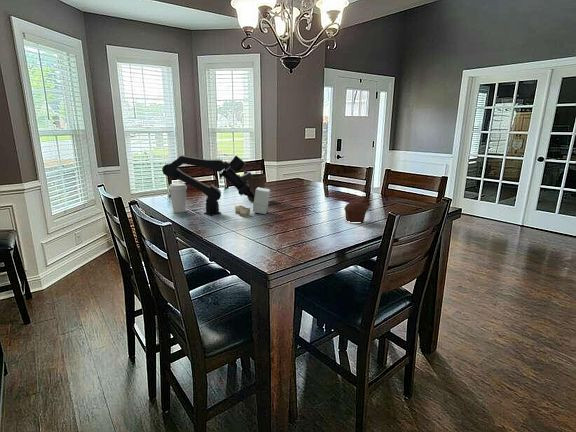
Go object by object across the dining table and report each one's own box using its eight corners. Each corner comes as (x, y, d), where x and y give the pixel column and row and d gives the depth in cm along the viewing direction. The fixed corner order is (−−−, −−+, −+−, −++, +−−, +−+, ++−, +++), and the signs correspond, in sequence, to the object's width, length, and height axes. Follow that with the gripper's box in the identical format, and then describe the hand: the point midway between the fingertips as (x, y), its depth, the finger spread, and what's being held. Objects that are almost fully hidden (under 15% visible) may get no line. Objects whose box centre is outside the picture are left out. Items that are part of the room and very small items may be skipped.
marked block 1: (239, 215, 182) (238, 207, 180) (235, 213, 185) (235, 206, 184) (245, 214, 184) (245, 206, 183) (241, 212, 187) (241, 205, 186)
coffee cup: (166, 212, 185) (164, 184, 181) (179, 208, 193) (177, 182, 189) (179, 214, 181) (177, 186, 177) (192, 210, 189) (190, 183, 185)
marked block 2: (246, 217, 177) (246, 209, 176) (240, 216, 179) (239, 208, 178) (250, 215, 181) (250, 207, 180) (243, 214, 183) (243, 207, 181)
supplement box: (267, 211, 190) (271, 189, 187) (265, 214, 183) (269, 191, 180) (254, 208, 191) (257, 186, 187) (251, 211, 184) (255, 189, 180)
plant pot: (238, 201, 212) (238, 176, 208) (248, 197, 226) (247, 173, 222) (260, 203, 208) (260, 177, 204) (269, 198, 222) (269, 174, 218)
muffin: (349, 225, 166) (350, 205, 163) (339, 219, 176) (340, 200, 173) (370, 223, 169) (372, 204, 166) (360, 218, 179) (361, 199, 177)
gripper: (243, 168, 170) (266, 189, 175) (242, 164, 188) (263, 183, 193) (229, 185, 171) (251, 205, 176) (229, 179, 189) (250, 197, 194)
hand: (254, 197), depth 184 cm, fingers closed
